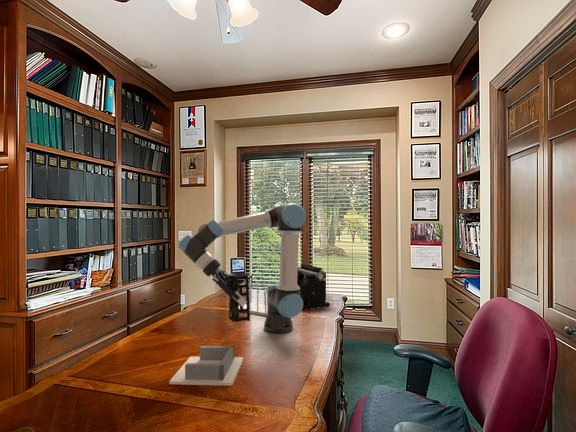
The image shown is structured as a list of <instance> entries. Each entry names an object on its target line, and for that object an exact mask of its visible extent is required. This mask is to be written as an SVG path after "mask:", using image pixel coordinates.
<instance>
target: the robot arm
mask: <svg viewBox="0 0 576 432" xmlns="http://www.w3.org/2000/svg"><path fill="white" fill-rule="evenodd" d="M306 219H307V213H306V211H305V209H304V207H303V206H301V205H299V204H297V203H292V202H291V203H289V202H288V203H285V204H280V205H278V206H275V207H272V208H269V209H265V210H264V211H263V212H259V213H254V214H249V215H245V216H240V217H234V218H230V219H225V220H220V221H217V220H216V219H213V218H212V219H211V220H210V221H208V222H207V223H203V224H202V225H200V226H199V227H198V230H197V233H196V234H194V235H192V234H187V235H185V237H183V238H182V239H181V240H180V241H179V243H178V247H179V249H180V250H181V251H182V252H183V253H184V255H186V257H188V259H190V261H192V263H194V265H196V268H199V270H202V273H204V275H206V277H208V278H209V277H211V276H212V281H213V282H214V283H216V284H217V286H218V287H219V288H220V289H221V290H222V291H223V292H225V294H226V295H227V296H228V297H231V296H232V297H233V298H234V299H235V300H236V301H237V302H238V303H239V304H240V305H241V306H242V307H243V306H244V305H245V304H246V303H247V301H246V296H241V295H240V294H239V288H238V292H237V291H236V292H235V290H234V289H233V288H232V287H231V285H230V284H229V283H230V279H229V274H228V273H227V271H226V270H222V269H220V267H221V263H220V261H218V260H217V259H216V258H215V257H214V256H213V254H211V253H210V252H209V251H208V250H207V248H208V247H209V246H210V245H211V244H212V243H213V242H214V241H215V240H217V238H222V237H225V236H227V237H228V236H230V235H236V234H240V233H245V232H249V231H253V230H258V229H261V228H263V229H264V228H268V229H271V228H277V229H278V230H277V231H278V232H279V234H280V255H279V256H280V257H279V259H280V260H279V261H280V262H279V283H277V284H269V286H268V285H267V286H268V287H266V288H267V289H266V290H267V292H266V305H267V316H265V320H264V322H263V323H264V324H263V329H264V331H265V332H267V333H272V334H285V333H289V332H291V331H293V329H294V324H293V320H292V318H296V317H298V315H300V313H301V312H303V311H302V308H303V300H302V298H301V297H300V287H299V286H298V285H297V272H298V266H299V265H298V264H299V262H298V261H299V240H300V239H299V237H300V234H301V233H303V225H304V224H305V222H306ZM242 292H243V293H245V292H244V290H243V291H242ZM249 299H250V298H249ZM240 305H239V306H240Z"/></svg>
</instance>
